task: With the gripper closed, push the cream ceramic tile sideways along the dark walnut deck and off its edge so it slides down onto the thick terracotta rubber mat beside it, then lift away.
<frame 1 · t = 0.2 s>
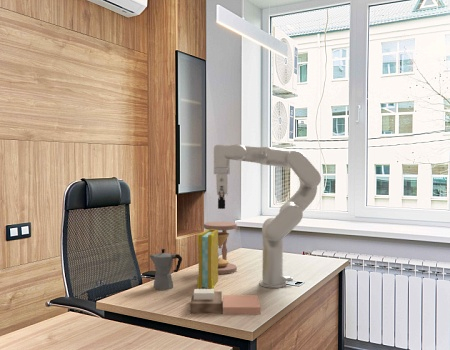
hand: (221, 207, 218), 37 cm above the table, tool pointing down, fingers open, 9 cm apart
deck: (206, 307, 187), on the table
coffeepot: (165, 288, 215), on the table
book: (209, 285, 220), on the table
hourglass: (220, 270, 248), on the table
mat: (240, 307, 187), on the table
tile: (204, 297, 187), point 4 cm above the table, touching deck
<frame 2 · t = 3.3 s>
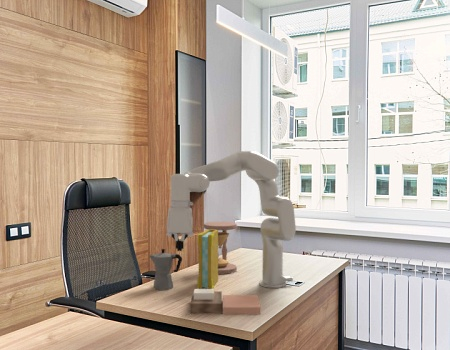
hand: (179, 250, 186), 23 cm above the table, tool pointing down, fingers closed
nothing on the table moved.
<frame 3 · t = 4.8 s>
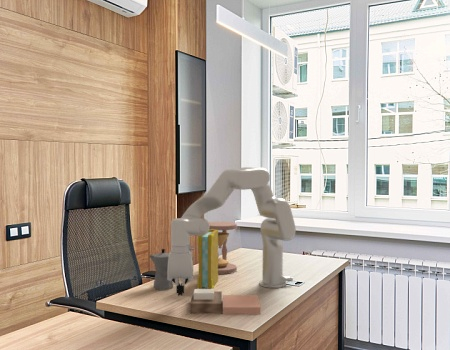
hand: (180, 294, 187), 5 cm above the table, tool pointing down, fingers closed
nothing on the table moved.
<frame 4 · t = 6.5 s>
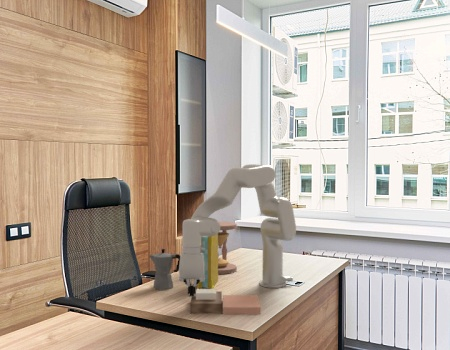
hand: (191, 295, 187), 5 cm above the table, tool pointing down, fingers closed
tile: (206, 297, 187), point 4 cm above the table, touching deck, gripper
everything else where it was.
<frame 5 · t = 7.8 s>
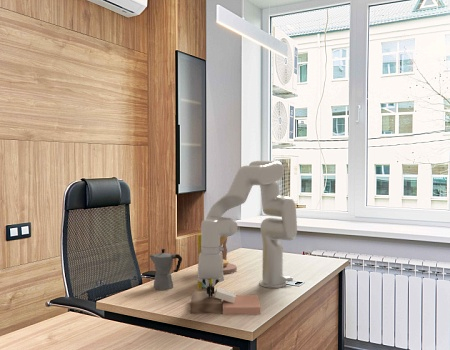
hand: (210, 295, 187), 5 cm above the table, tool pointing down, fingers closed
tile: (224, 298, 187), point 4 cm above the table, tilted 18°, touching mat
everything else where it was.
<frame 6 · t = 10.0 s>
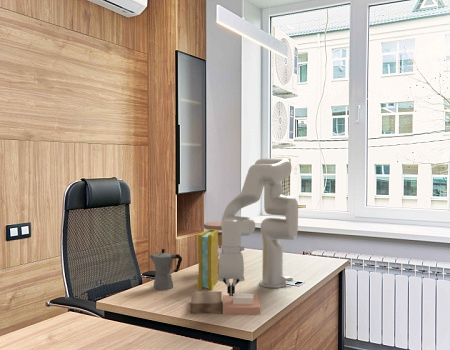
hand: (231, 295, 187), 5 cm above the table, tool pointing down, fingers closed
tile: (243, 301, 186), point 2 cm above the table, touching gripper, mat
everything else where it was.
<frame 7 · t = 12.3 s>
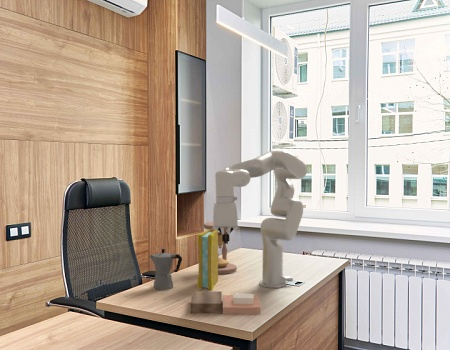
hand: (225, 243, 197), 24 cm above the table, tool pointing down, fingers closed
tile: (243, 301, 186), point 2 cm above the table, touching mat
everything else where it was.
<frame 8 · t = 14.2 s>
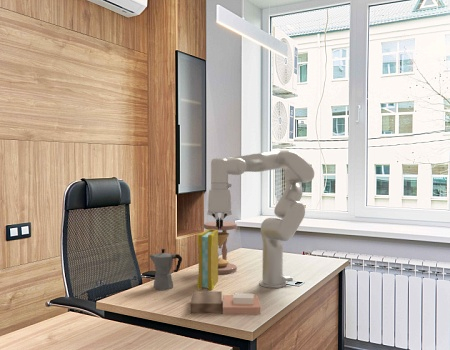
hand: (219, 228, 204), 29 cm above the table, tool pointing down, fingers closed
nothing on the table moved.
at the end: tile point 2.5 cm above the table; tile inside the target area on the mat (1.6 cm from its centre), point 2.5 cm above the mat's base; tile tilted 0° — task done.
